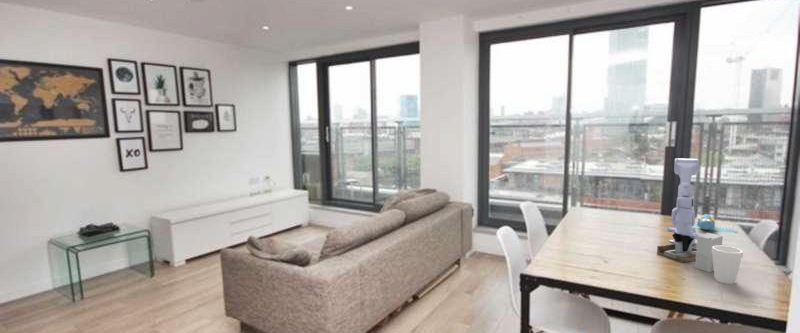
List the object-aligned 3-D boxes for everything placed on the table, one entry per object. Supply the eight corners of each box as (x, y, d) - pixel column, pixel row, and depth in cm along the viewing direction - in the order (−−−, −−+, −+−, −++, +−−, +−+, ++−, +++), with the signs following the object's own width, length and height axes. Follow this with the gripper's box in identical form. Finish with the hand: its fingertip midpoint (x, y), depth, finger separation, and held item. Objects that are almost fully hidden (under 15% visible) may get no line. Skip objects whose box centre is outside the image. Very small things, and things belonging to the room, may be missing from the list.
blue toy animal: (738, 215, 222) (739, 221, 210) (737, 230, 223) (738, 237, 211) (677, 209, 239) (675, 214, 228) (677, 223, 241) (674, 229, 229)
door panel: (687, 252, 187) (688, 240, 187) (691, 253, 186) (692, 241, 185) (674, 254, 185) (675, 242, 184) (678, 255, 183) (679, 243, 183)
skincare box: (705, 264, 174) (707, 232, 172) (721, 269, 169) (723, 235, 167) (694, 268, 171) (696, 235, 169) (710, 273, 165) (712, 238, 163)
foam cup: (703, 276, 162) (706, 246, 160) (724, 275, 163) (727, 244, 161) (724, 286, 153) (727, 254, 151) (746, 284, 153) (749, 252, 152)
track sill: (683, 249, 194) (684, 241, 194) (711, 257, 182) (711, 249, 181) (657, 253, 189) (657, 245, 189) (683, 262, 177) (683, 254, 177)
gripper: (663, 219, 189) (661, 246, 191) (693, 226, 175) (691, 256, 177) (674, 217, 191) (672, 244, 193) (704, 225, 177) (702, 254, 179)
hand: (682, 250), depth 185 cm, fingers closed on door panel, 2 cm apart
